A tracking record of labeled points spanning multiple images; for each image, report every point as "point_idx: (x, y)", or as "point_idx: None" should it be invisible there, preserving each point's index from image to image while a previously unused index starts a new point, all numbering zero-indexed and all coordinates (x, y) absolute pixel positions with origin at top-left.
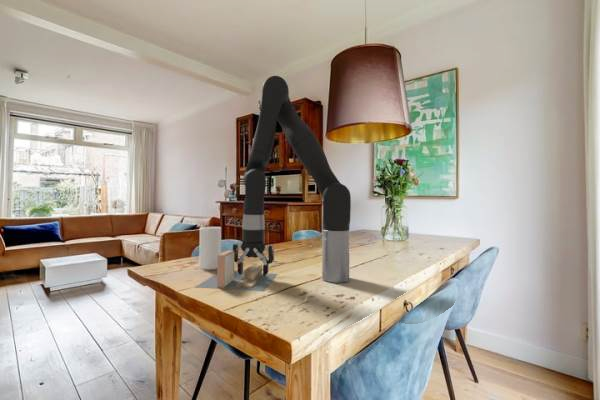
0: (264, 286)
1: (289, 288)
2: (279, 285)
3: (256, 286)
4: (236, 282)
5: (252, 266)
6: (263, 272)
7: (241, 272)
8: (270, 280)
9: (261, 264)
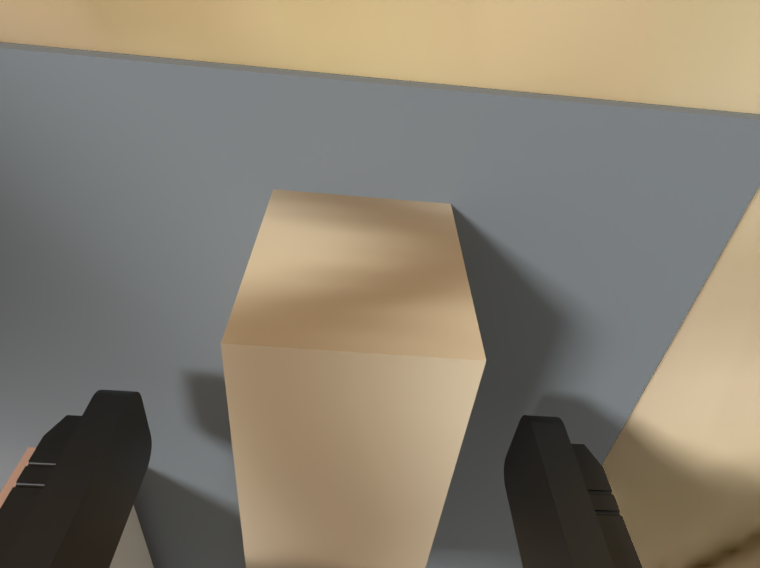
0: (518, 561)
1: (750, 553)
2: (673, 508)
3: (441, 562)
4: (194, 502)
5: (307, 540)
6: (519, 518)
7: (139, 460)
8: (592, 435)
9: (475, 387)
